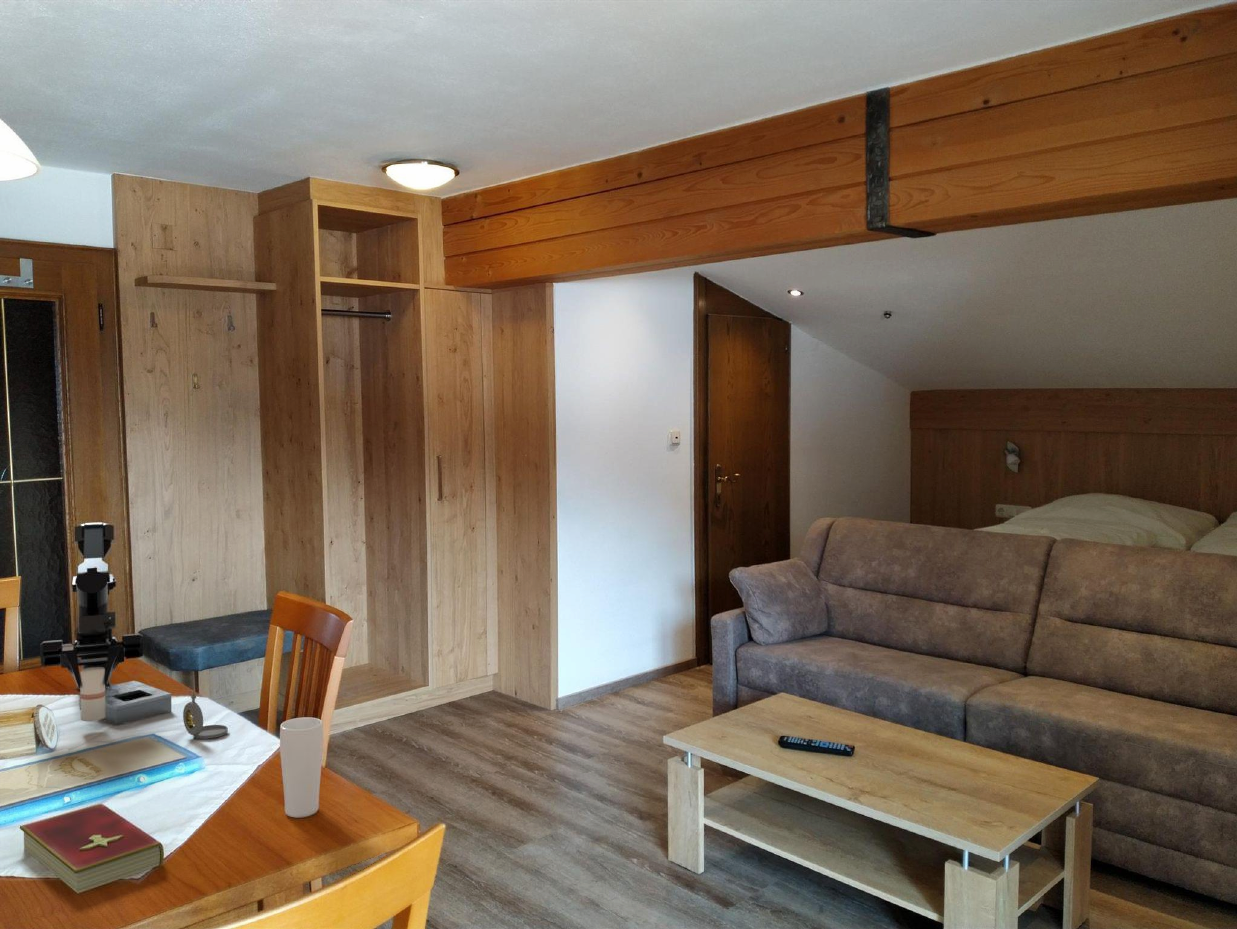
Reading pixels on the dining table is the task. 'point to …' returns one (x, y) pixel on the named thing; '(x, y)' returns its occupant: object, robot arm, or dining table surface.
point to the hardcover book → (91, 847)
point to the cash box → (134, 702)
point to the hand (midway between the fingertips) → (92, 685)
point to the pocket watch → (199, 722)
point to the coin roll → (92, 693)
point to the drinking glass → (301, 764)
